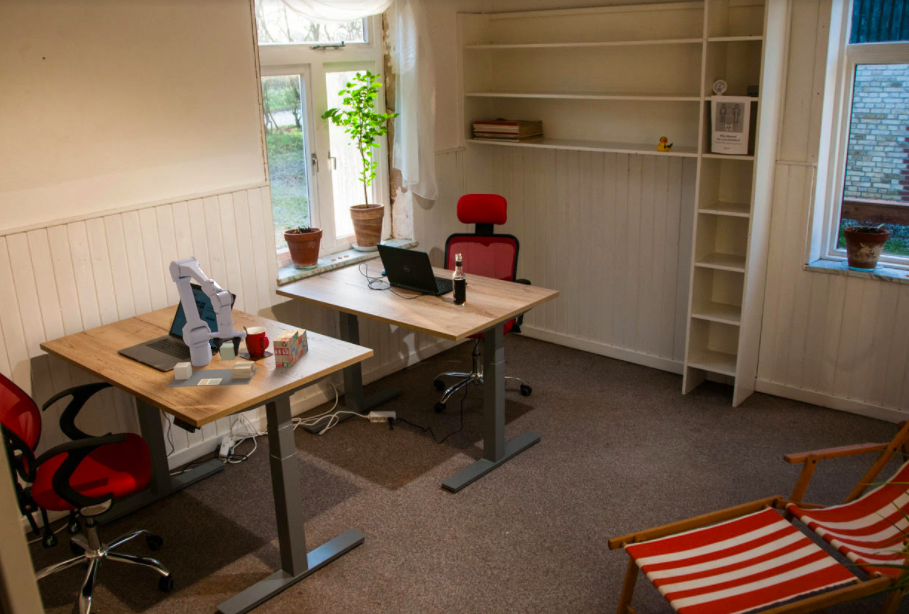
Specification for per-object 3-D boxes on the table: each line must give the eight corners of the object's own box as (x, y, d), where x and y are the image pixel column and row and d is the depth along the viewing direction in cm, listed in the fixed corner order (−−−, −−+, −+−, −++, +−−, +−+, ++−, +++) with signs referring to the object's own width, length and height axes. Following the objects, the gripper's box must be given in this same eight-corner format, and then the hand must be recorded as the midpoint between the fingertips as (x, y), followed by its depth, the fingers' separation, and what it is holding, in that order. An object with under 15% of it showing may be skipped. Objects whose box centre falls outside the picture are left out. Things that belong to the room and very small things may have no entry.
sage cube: (225, 355, 303) (223, 343, 301) (237, 355, 303) (236, 343, 301) (221, 360, 298) (219, 348, 296) (234, 359, 298) (232, 347, 296)
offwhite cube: (179, 374, 305) (177, 362, 304) (192, 374, 305) (190, 362, 304) (175, 379, 300) (173, 367, 299) (188, 379, 300) (186, 367, 299)
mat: (180, 372, 309) (180, 370, 309) (258, 369, 309) (258, 367, 309) (166, 388, 294) (166, 387, 294) (248, 386, 294) (248, 384, 294)
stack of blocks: (294, 349, 329) (291, 322, 326) (308, 350, 328) (305, 322, 325) (275, 369, 309) (272, 340, 306) (290, 369, 308) (287, 340, 305)
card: (201, 379, 299) (201, 378, 299) (222, 379, 299) (222, 378, 299) (197, 385, 294) (197, 384, 294) (218, 385, 294) (218, 384, 294)
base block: (237, 371, 306) (236, 362, 305) (255, 370, 306) (254, 361, 305) (233, 378, 299) (231, 368, 298) (251, 377, 299) (249, 368, 298)
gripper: (202, 326, 292) (207, 360, 296) (241, 324, 292) (245, 358, 296) (208, 320, 299) (213, 353, 303) (246, 318, 299) (250, 351, 303)
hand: (229, 355), depth 300 cm, fingers closed on sage cube, 5 cm apart
